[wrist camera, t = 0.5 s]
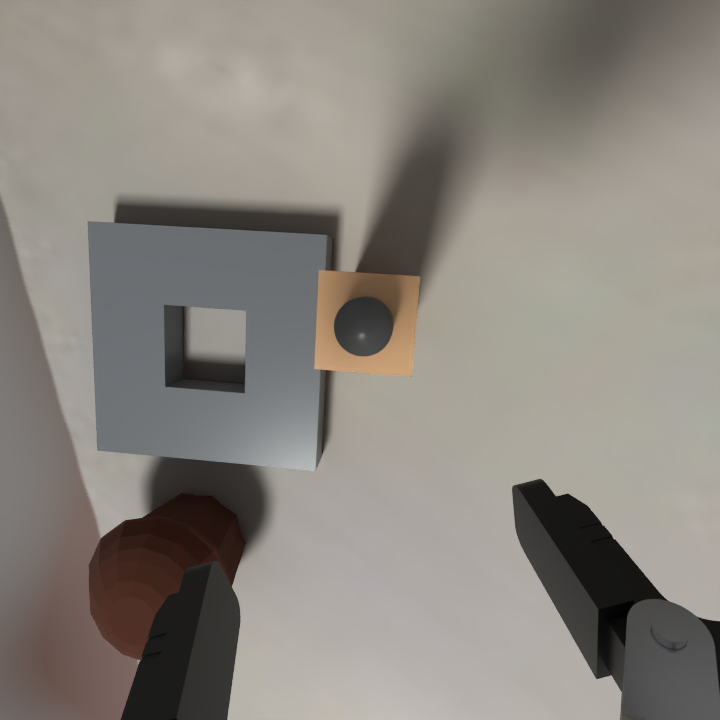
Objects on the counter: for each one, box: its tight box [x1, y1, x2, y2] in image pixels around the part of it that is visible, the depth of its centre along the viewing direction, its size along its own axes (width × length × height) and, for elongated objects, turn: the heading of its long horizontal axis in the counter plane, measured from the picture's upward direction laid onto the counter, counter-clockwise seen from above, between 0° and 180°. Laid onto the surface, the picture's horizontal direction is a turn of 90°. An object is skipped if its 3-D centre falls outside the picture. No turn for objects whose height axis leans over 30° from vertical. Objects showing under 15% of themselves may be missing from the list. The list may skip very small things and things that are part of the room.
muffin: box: [89, 493, 245, 661], centre depth 35 cm, size 12×11×10 cm
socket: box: [88, 221, 333, 471], centre depth 35 cm, size 18×18×3 cm
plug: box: [314, 270, 420, 377], centre depth 26 cm, size 4×4×18 cm
